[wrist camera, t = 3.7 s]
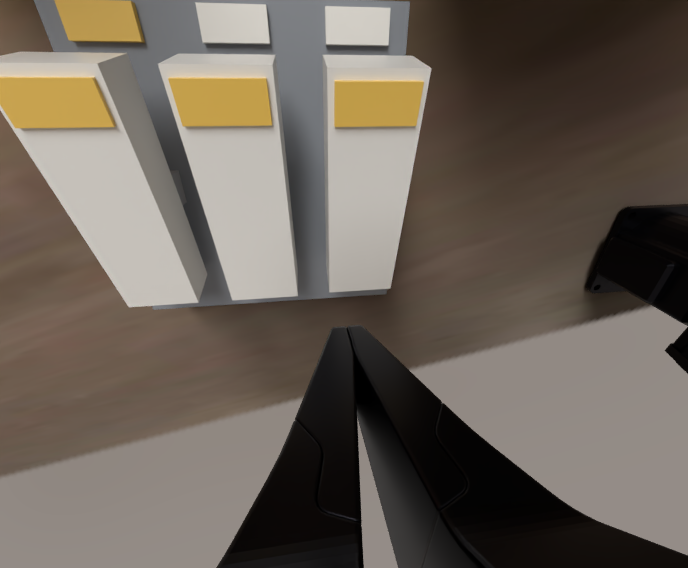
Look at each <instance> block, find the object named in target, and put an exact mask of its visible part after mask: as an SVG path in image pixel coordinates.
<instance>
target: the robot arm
mask: <svg viewBox="0 0 688 568" xmlns="http://www.w3.org/2000/svg"><path fill="white" fill-rule="evenodd" d="M586 288H587V290H589V291H590V292H592V293H604V292H618V291H628V292H629V293H631V294H633V295H634V296H636V297H638V298H640V299H641V300H643V301H645V302H646V303H649V304H651V305H652V306H654V307H656V308H657V309H659V310H661V311H663V312H664V313H666V314H668V315H669V316H671V317H673V318H674V319H676V320H678V321H679V322H681V323H683V324H685V325H687V326H688V204H679V205H654V206H630V207H627V208H625V209H624V210H623V211H622V212H621V213H620V215H619V217H618V219H617V221H616V223H615V226H614V228H613V230H612V232H611V234H610V236H609V238H608V241H607V243H606V245H605V247H604V249H603V251H602V254H601V256H600V258H599V260H598V262H597V264H596V266H595V269H594V271H593V273H592V275H591V277H590V279H589V282H588V284H587V286H586ZM665 351H666V352H667V353H668V354H669V355H670V356H671V357H672V358H673V359H674V360H675V361H676V363H677V364H678V365H680V367H681V368H682V369H683V370H685V371H686V372H687V373H688V327H687V329H686V330H685V331H684V332H683V333H682V334H681V335H680V336H679V338H678V339H677V340H676V341H675V342H674V343H673V344H670V345H669V346H668V347H667V348H666V350H665ZM441 403H442V402H441V400H440V399H439V398H438V397H436V396H435V395H434V394H433V393H432V392H431V391H430V390H429V389H428V388H427V387H426V386H425V385H424V384H423V383H422V382H421V381H420V380H419V379H418V378H416V377H415V376H414V375H413V374H412V373H411V372H410V371H409V370H408V369H407V368H406V367H405V366H404V365H403V364H402V363H401V362H400V361H399V360H398V359H397V358H395V357H394V356H393V355H392V354H391V353H390V352H389V351H388V350H387V349H386V348H385V347H384V346H383V345H382V344H381V343H380V342H379V341H378V340H377V339H376V338H374V337H373V336H372V335H371V334H370V333H369V332H368V331H367V330H366V329H365V328H364V327H363V326H361V325H354V326H348V327H347V328H346V327H345V326H342V327H333V328H332V329H331V331H330V334H329V336H328V338H327V341H326V343H325V346H324V348H323V351H322V353H321V356H320V358H319V361H318V363H317V366H316V368H315V371H314V373H313V376H312V378H311V381H310V383H309V386H308V388H307V391H306V393H305V396H304V398H303V401H302V403H301V405H300V408H299V410H298V413H297V415H296V418H295V421H294V422H293V425H292V428H291V430H290V432H289V435H288V437H287V439H286V442H285V444H284V446H283V448H282V451H281V453H280V455H279V457H278V459H277V461H276V463H275V465H274V467H273V469H272V471H271V472H270V475H269V477H268V479H267V480H266V482H265V484H264V486H263V488H262V489H261V491H260V493H259V494H258V497H257V498H256V500H255V502H254V504H253V505H252V507H251V509H250V511H249V513H248V514H247V516H246V518H245V520H244V521H243V523H242V525H241V527H240V529H239V530H238V532H237V534H236V536H235V538H234V540H233V541H232V543H231V545H230V546H229V548H228V550H227V551H226V553H225V555H224V557H223V558H222V560H221V561H220V563H219V564H218V566H217V567H216V568H364V565H363V547H362V527H361V502H360V501H361V500H360V476H359V451H358V430H357V429H358V427H357V417H358V420H359V424H360V428H361V432H362V435H363V439H364V443H365V447H366V450H367V454H368V457H369V461H370V465H371V469H372V472H373V476H374V480H375V483H376V487H377V491H378V495H379V498H380V502H381V506H382V509H383V512H384V517H385V520H386V524H387V528H388V531H389V535H390V539H391V543H392V546H393V550H394V554H395V557H396V561H397V565H398V568H688V556H687V555H685V554H682V553H680V552H677V551H674V550H672V549H669V548H666V547H664V546H661V545H658V544H656V543H653V542H651V541H648V540H645V539H643V538H640V537H638V536H635V535H632V534H629V533H627V532H624V531H622V530H619V529H616V528H614V527H611V526H609V525H606V524H604V523H601V522H598V521H596V520H594V519H592V518H590V517H588V516H586V515H584V514H583V513H581V512H579V511H577V510H575V509H574V508H572V507H571V506H569V505H568V504H566V503H565V502H563V501H562V500H560V499H559V498H558V497H556V496H555V495H554V494H552V493H551V492H550V491H548V490H547V489H546V488H544V487H543V486H542V485H541V484H540V483H538V482H537V481H535V480H534V479H533V478H532V477H531V476H529V475H528V474H527V473H526V472H524V471H523V470H522V469H521V468H519V467H518V466H517V465H515V464H514V463H513V462H512V461H510V460H509V459H508V458H506V457H505V456H504V455H503V454H501V453H500V452H499V451H498V450H496V449H495V448H494V447H493V446H491V445H490V444H489V443H488V442H487V441H485V440H484V439H483V438H482V437H480V436H479V435H478V434H477V433H476V432H474V431H473V430H472V429H471V428H470V427H469V426H468V425H467V424H466V423H464V422H463V421H462V420H461V419H460V418H459V417H458V416H457V415H456V414H454V413H453V412H452V411H451V410H450V409H449V408H448V407H447V406H446V405H445V404H443V403H442V404H441Z"/></svg>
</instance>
